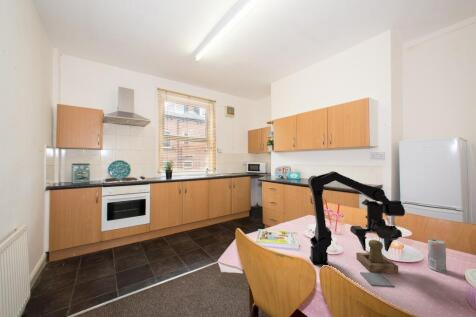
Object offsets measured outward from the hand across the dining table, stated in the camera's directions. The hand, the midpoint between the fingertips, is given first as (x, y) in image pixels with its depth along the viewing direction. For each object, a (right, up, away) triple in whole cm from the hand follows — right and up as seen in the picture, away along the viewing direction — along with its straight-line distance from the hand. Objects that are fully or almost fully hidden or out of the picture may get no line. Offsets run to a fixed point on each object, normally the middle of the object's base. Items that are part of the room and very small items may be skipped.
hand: (375, 250), depth 85 cm
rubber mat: (-7, -7, -10) cm, 14 cm away
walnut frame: (0, -7, 0) cm, 7 cm away
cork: (0, -7, 0) cm, 7 cm away
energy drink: (+24, -7, -3) cm, 25 cm away
